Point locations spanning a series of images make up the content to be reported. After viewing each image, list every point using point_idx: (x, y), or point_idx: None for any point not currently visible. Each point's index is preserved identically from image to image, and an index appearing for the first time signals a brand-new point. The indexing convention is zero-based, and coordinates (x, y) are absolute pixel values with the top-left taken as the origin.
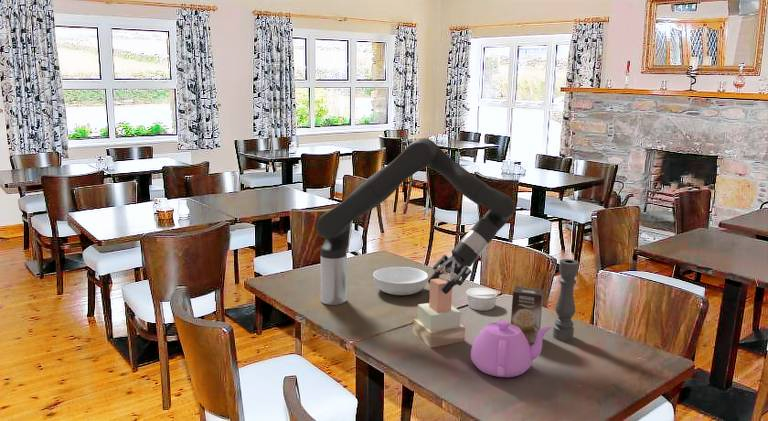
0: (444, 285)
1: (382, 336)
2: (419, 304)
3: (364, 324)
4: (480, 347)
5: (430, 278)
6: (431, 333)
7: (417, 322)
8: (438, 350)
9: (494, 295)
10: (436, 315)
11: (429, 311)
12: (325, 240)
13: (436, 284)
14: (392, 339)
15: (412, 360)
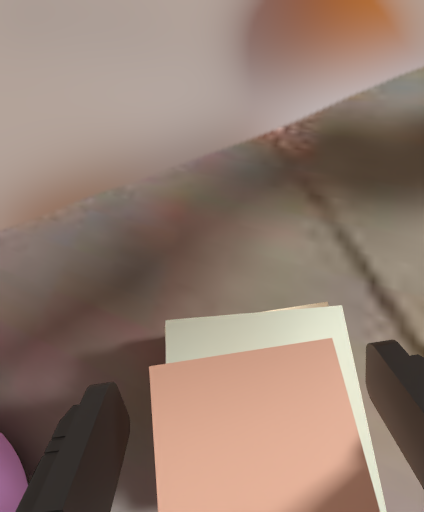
0: (92, 424)
1: (298, 209)
2: (338, 314)
3: (407, 176)
4: None
5: (397, 366)
6: (165, 329)
7: (284, 309)
8: (148, 353)
9: None
10: (166, 352)
11: (223, 333)
12: None
13: (191, 361)
14: (268, 233)
15: (113, 251)
